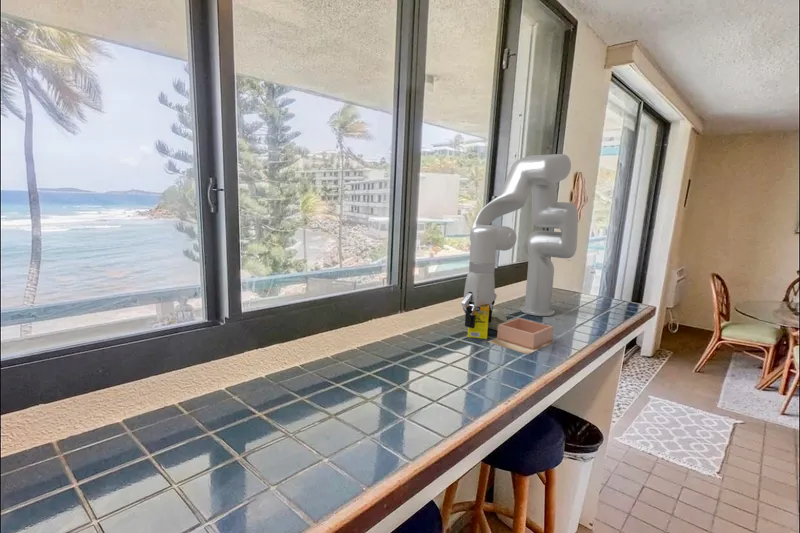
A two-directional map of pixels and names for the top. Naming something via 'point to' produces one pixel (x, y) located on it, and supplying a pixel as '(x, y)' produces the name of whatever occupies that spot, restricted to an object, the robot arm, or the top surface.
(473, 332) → the supplement box
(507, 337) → the pink open box
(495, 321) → the seashell
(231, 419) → the top surface
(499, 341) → the beech board
